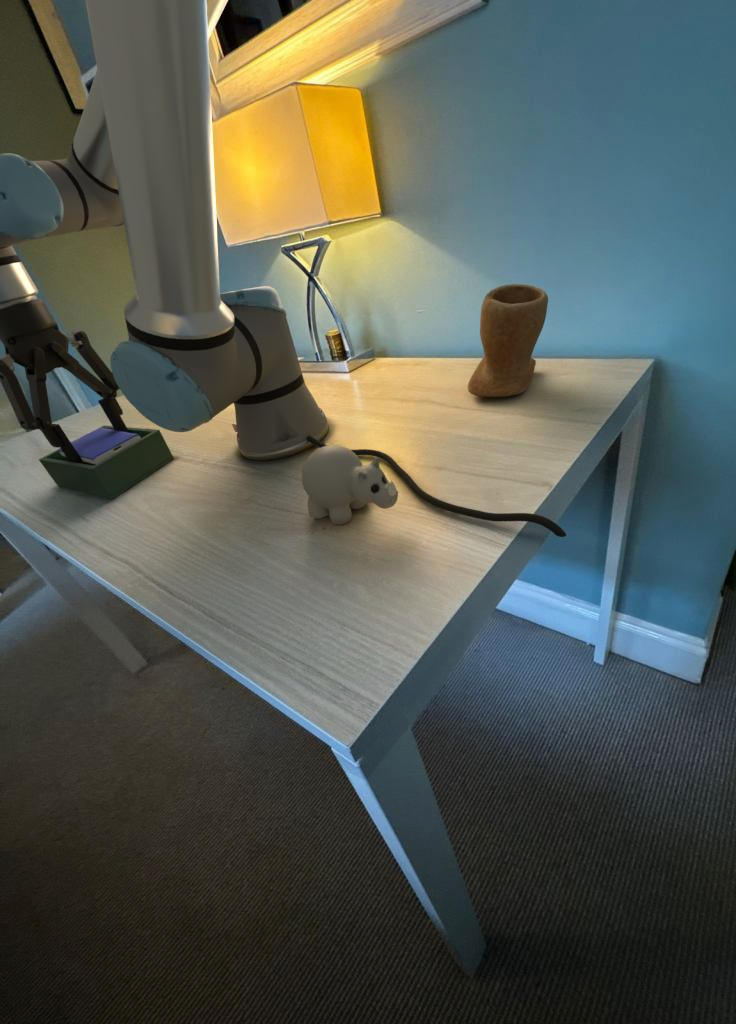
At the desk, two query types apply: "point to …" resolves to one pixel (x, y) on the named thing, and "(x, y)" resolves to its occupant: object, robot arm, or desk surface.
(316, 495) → the chubby cartoon animal
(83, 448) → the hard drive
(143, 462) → the tub
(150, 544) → the desk surface
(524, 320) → the brown clay boot vase
